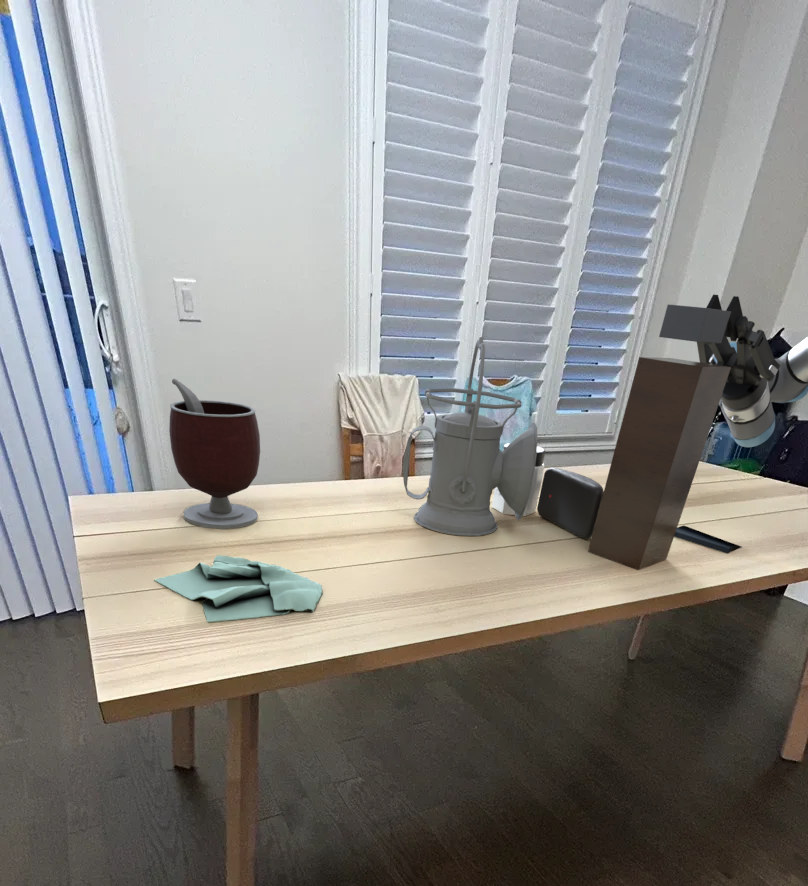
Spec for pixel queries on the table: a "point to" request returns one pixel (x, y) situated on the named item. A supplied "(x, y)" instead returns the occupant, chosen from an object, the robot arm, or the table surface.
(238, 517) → the mate gourd
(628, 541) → the plinth
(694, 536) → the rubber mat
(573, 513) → the red-dotted rounded block
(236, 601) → the cloth
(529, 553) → the table surface
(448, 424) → the lantern
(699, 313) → the switch lever
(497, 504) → the jar
